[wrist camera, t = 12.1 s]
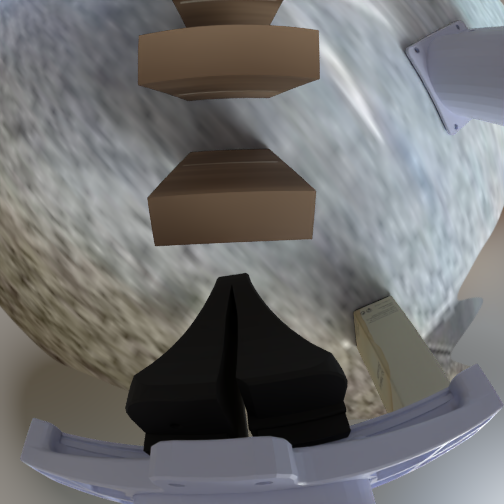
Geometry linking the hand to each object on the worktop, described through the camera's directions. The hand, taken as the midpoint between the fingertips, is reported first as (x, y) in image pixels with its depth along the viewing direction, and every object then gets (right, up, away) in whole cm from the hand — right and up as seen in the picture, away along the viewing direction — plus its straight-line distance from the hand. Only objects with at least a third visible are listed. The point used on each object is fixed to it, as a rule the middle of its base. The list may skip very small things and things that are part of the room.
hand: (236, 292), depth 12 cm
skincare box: (+13, -5, +13) cm, 19 cm away
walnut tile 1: (-1, +8, +4) cm, 9 cm away
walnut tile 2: (-1, +12, +2) cm, 12 cm away
